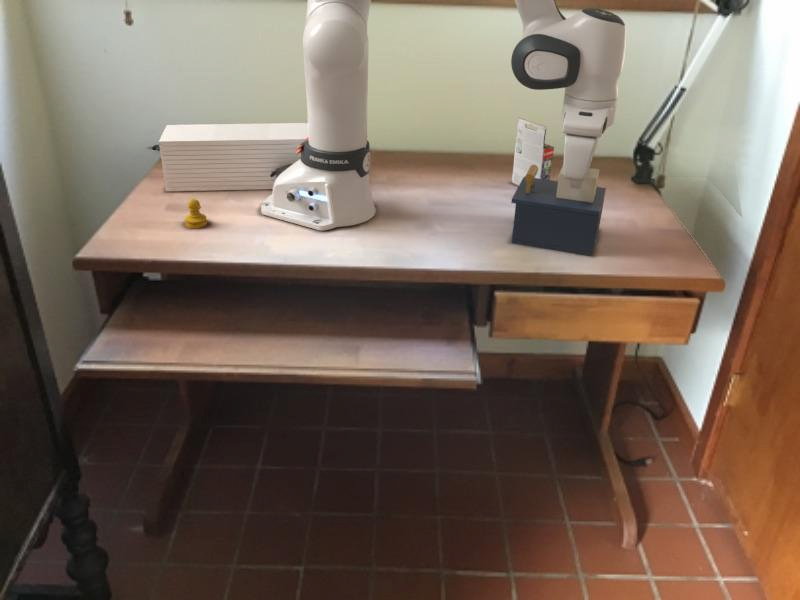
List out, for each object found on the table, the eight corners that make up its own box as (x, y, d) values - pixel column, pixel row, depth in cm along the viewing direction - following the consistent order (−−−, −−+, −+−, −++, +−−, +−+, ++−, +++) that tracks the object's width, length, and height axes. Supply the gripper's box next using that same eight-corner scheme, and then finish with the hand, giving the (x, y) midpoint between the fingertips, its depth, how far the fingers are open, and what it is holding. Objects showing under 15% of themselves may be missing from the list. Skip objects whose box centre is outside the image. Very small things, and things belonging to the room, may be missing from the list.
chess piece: (211, 221, 143) (208, 197, 141) (199, 229, 140) (196, 205, 137) (193, 218, 144) (190, 194, 142) (181, 226, 141) (178, 201, 139)
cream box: (555, 197, 135) (559, 173, 132) (559, 188, 139) (563, 164, 136) (592, 203, 133) (596, 178, 131) (595, 193, 137) (599, 169, 135)
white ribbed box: (166, 191, 155) (158, 141, 150) (173, 172, 164) (166, 124, 159) (321, 188, 159) (319, 138, 153) (320, 169, 168) (318, 122, 162)
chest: (511, 243, 138) (515, 203, 134) (523, 218, 148) (527, 181, 144) (592, 256, 134) (598, 216, 130) (598, 230, 144) (605, 192, 140)
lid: (511, 202, 134) (513, 178, 132) (523, 180, 144) (525, 157, 141) (598, 215, 130) (603, 191, 128) (605, 191, 140) (609, 168, 137)
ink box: (522, 179, 165) (529, 114, 158) (549, 191, 160) (558, 123, 153) (510, 183, 163) (517, 117, 156) (538, 195, 158) (546, 127, 151)
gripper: (577, 93, 137) (567, 165, 144) (561, 126, 121) (551, 205, 128) (613, 97, 136) (601, 170, 143) (601, 130, 119) (588, 211, 126)
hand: (577, 187), depth 135 cm, fingers open, 7 cm apart
